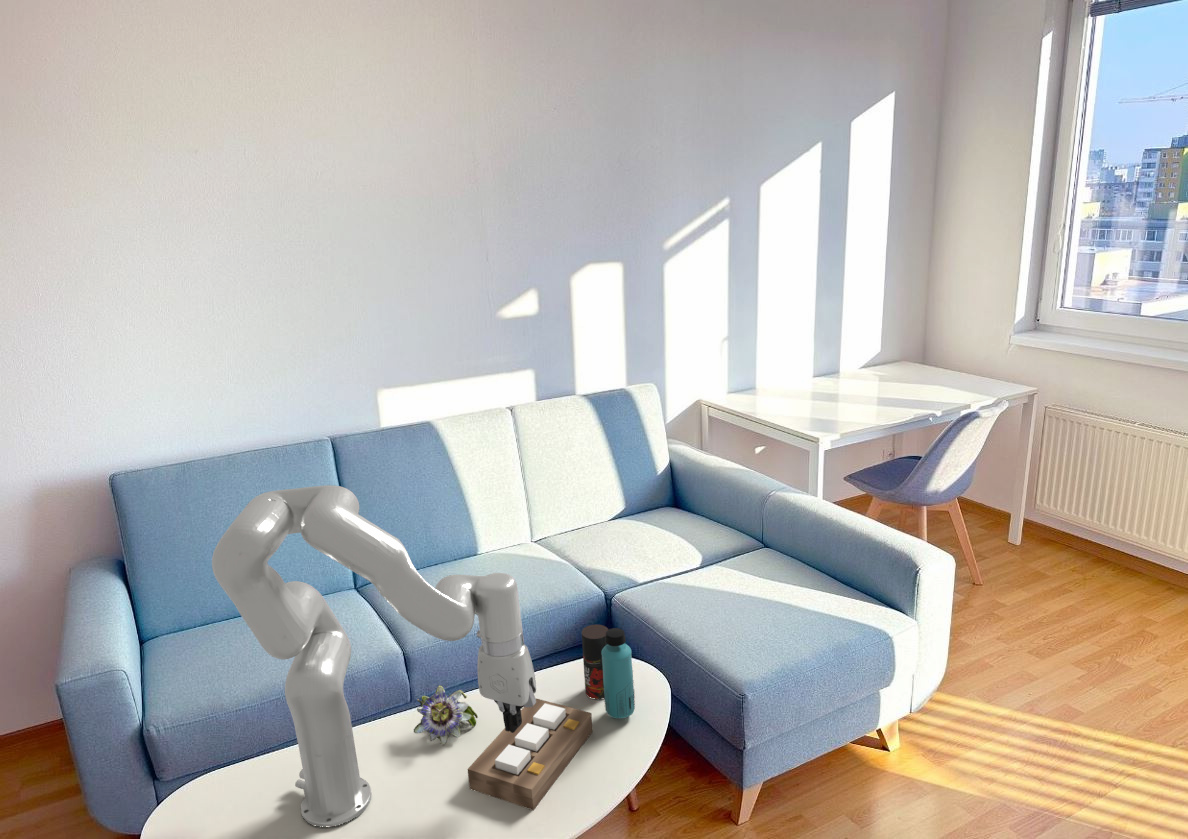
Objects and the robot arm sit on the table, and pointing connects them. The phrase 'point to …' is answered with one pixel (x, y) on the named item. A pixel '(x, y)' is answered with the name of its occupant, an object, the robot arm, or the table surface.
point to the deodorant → (593, 659)
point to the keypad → (542, 764)
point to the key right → (549, 716)
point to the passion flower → (444, 715)
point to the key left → (513, 759)
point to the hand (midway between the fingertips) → (513, 727)
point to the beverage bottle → (617, 675)
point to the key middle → (531, 737)
